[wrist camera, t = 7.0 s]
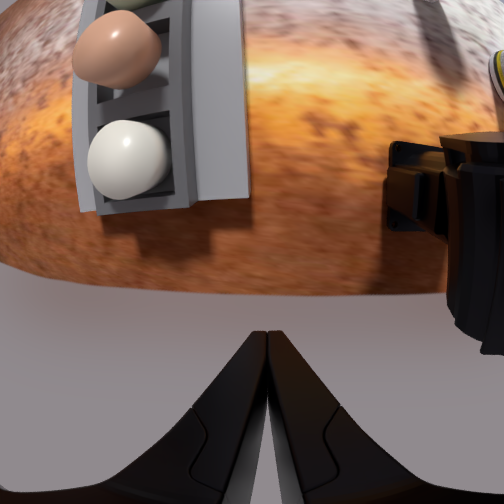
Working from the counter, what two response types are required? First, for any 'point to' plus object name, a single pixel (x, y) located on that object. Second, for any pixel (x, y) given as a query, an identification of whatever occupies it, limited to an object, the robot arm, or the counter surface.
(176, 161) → the button panel
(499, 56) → the pill bottle
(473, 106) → the counter surface
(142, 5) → the button sage
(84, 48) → the button terracotta
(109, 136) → the button ivory
